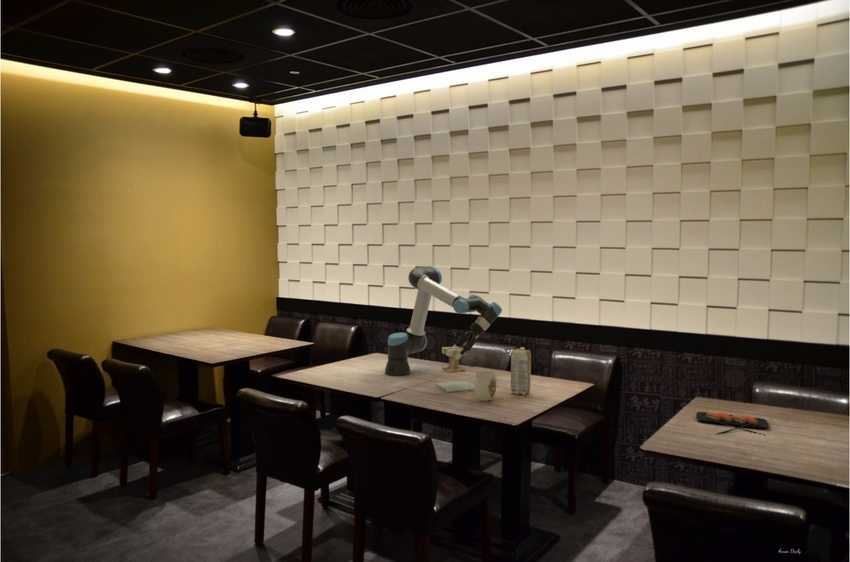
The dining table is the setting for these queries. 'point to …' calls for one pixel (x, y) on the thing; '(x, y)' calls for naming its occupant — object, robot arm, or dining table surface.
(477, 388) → the cream mug
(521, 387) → the juice carton
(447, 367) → the stool
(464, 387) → the mat
